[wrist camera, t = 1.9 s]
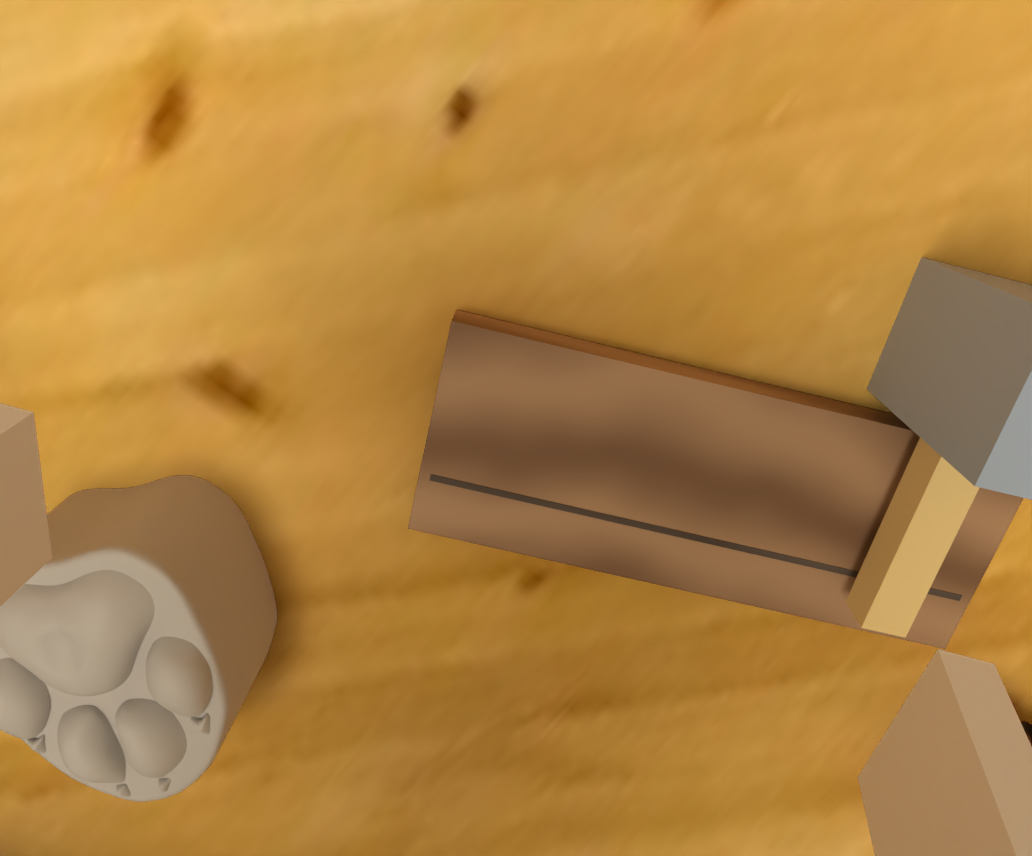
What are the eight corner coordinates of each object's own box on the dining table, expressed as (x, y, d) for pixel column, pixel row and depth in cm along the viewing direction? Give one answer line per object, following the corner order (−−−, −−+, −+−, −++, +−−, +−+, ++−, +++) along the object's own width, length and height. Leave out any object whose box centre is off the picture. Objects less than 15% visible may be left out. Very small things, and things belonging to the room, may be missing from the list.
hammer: (893, 582, 40) (997, 726, 31) (795, 560, 40) (870, 698, 31) (1034, 285, 35) (1211, 351, 26) (921, 257, 35) (1059, 313, 25)
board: (927, 624, 41) (945, 649, 39) (414, 508, 40) (407, 529, 38) (1017, 443, 37) (1043, 462, 35) (456, 309, 36) (451, 321, 34)
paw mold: (233, 466, 39) (152, 560, 31) (306, 686, 44) (251, 818, 36) (30, 497, 40) (-99, 596, 32) (122, 709, 45) (29, 842, 37)
